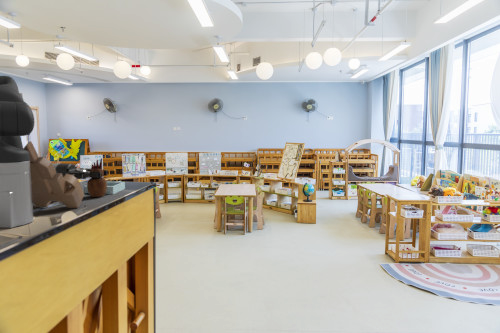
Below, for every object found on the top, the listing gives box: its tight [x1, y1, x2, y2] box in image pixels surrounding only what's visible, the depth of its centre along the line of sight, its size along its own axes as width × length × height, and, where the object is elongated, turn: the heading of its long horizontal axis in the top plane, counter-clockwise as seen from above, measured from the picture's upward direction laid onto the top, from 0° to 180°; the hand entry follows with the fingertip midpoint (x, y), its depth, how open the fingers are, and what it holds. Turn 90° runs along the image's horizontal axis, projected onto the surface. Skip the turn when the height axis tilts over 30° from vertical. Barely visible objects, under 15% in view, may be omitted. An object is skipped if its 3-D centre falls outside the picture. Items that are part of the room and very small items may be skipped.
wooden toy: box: [23, 141, 85, 209], centre depth 99 cm, size 15×7×25 cm
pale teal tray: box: [83, 181, 126, 195], centre depth 134 cm, size 12×12×3 cm
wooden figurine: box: [86, 157, 108, 198], centre depth 122 cm, size 7×6×15 cm
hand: (103, 173), depth 122 cm, fingers closed on wooden figurine, 4 cm apart
